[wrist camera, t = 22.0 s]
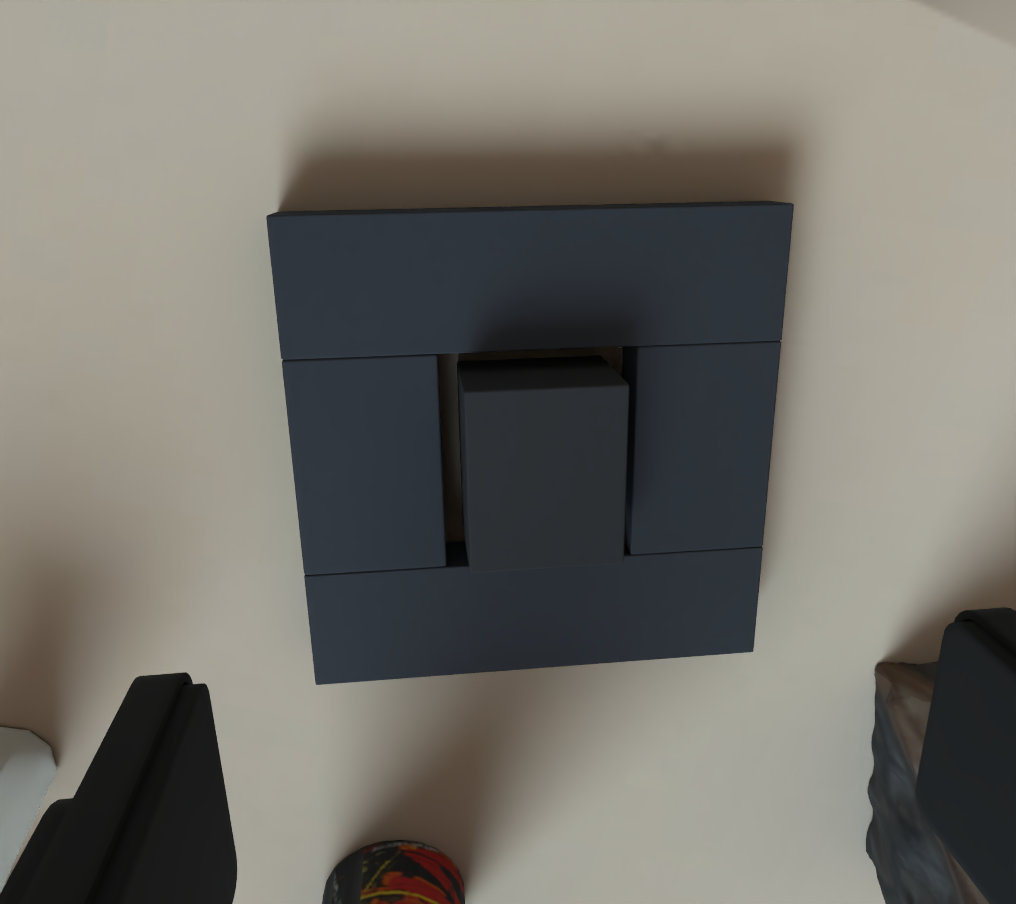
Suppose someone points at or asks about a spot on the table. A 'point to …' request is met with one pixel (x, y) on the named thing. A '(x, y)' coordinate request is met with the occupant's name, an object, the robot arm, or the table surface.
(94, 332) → the table surface
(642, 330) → the socket pad
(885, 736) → the rock
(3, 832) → the milkshake
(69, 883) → the robot arm
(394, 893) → the deodorant
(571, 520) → the small dark rectangular block
